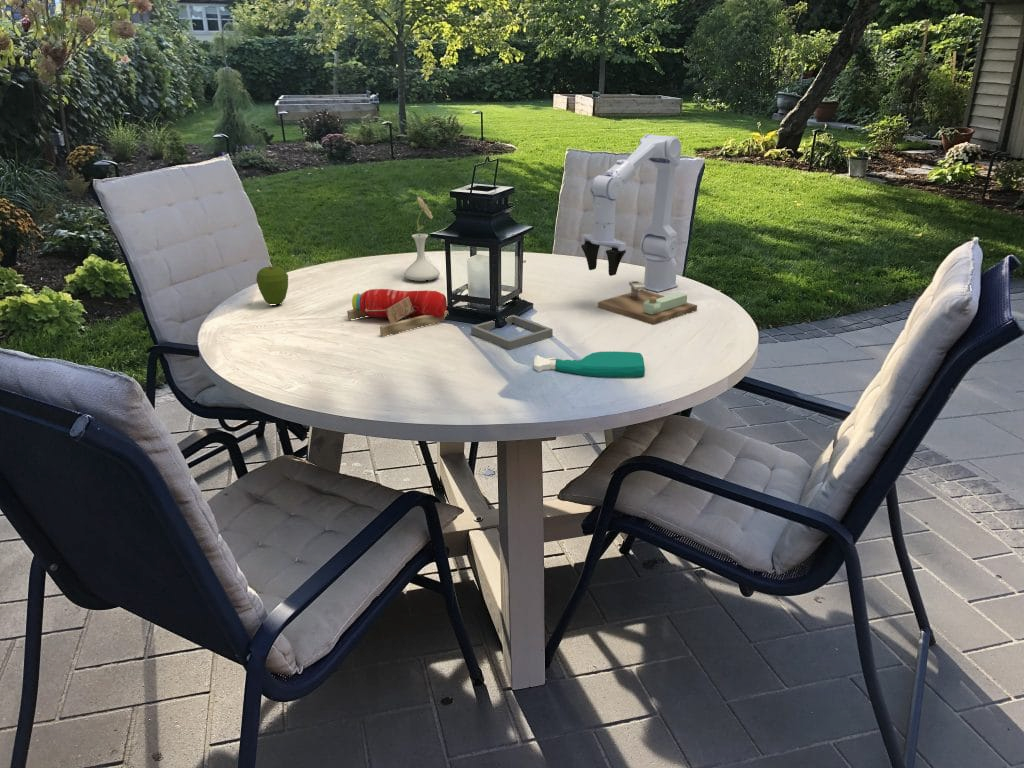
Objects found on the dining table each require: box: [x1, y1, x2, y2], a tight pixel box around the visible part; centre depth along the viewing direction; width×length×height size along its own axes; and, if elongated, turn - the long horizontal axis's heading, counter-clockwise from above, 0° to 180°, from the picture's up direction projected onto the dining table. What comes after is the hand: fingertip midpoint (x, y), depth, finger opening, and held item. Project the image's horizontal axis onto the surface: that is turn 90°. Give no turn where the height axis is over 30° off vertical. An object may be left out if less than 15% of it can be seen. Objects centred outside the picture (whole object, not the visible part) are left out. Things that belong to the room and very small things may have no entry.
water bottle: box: [351, 288, 448, 324], centre depth 204 cm, size 12×8×25 cm
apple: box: [255, 265, 289, 305], centre depth 216 cm, size 9×8×12 cm
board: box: [597, 280, 698, 325], centre depth 212 cm, size 18×20×6 cm
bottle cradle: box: [346, 308, 449, 337], centre depth 205 cm, size 20×18×2 cm
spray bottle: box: [533, 350, 646, 378], centre depth 174 cm, size 3×11×24 cm
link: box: [643, 292, 688, 315], centre depth 208 cm, size 14×4×2 cm, turn 130°
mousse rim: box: [470, 314, 554, 350], centre depth 194 cm, size 14×15×2 cm
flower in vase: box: [403, 196, 441, 282], centre depth 238 cm, size 13×11×25 cm
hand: (602, 272), depth 211 cm, fingers open, 7 cm apart
